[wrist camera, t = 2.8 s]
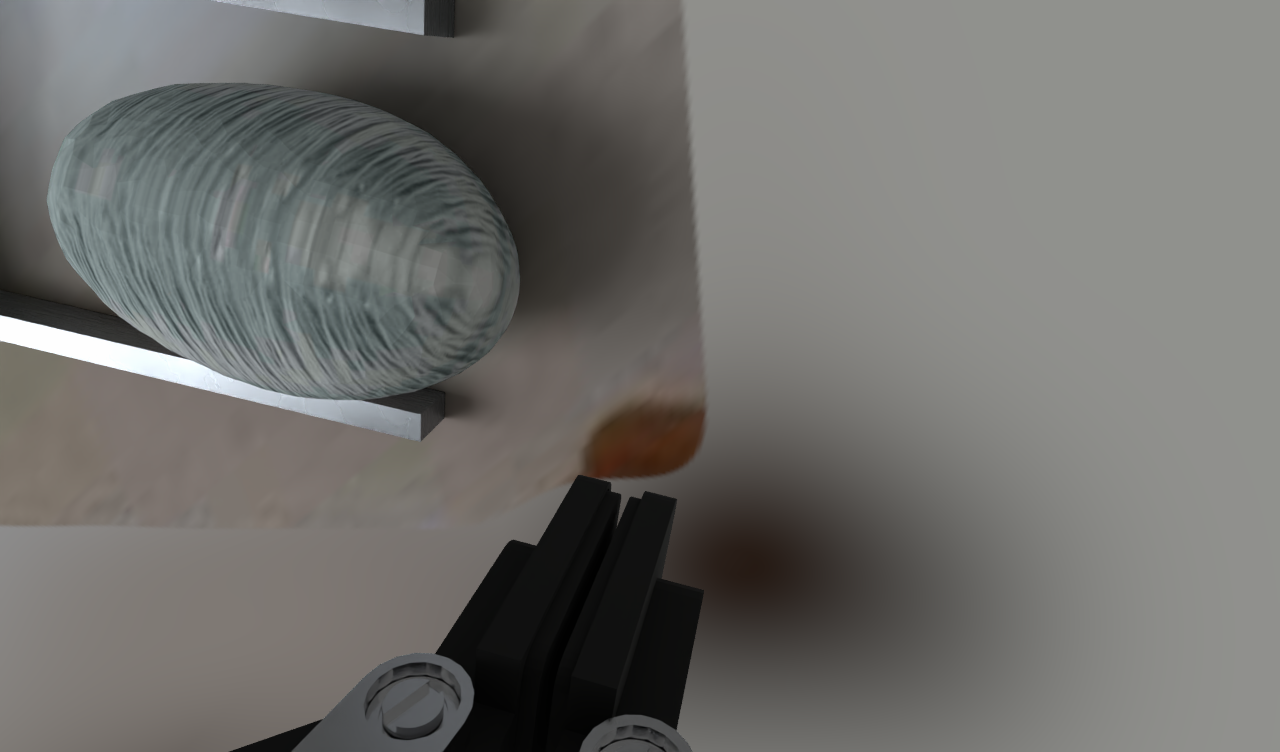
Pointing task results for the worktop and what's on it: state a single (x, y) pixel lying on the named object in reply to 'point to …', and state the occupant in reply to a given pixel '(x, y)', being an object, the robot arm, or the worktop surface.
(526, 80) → the worktop surface
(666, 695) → the robot arm
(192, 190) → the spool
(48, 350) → the guide rails
